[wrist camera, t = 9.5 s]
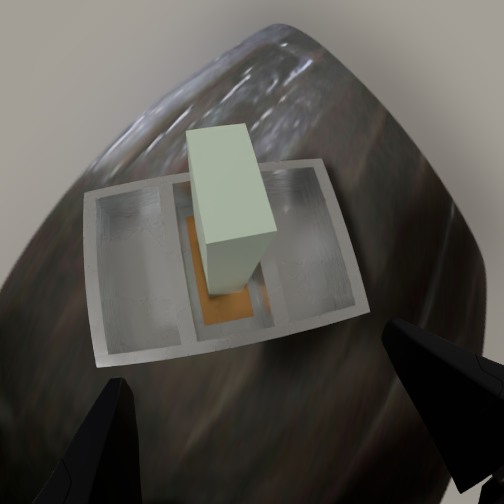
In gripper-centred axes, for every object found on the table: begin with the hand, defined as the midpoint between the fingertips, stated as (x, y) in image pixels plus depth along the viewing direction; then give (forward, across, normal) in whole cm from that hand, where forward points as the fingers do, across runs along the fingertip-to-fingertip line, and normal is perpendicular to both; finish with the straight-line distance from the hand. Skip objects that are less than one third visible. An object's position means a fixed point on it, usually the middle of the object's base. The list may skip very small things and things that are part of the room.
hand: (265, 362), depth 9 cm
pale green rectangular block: (+10, 0, +2) cm, 10 cm away
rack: (+10, 0, +2) cm, 11 cm away
